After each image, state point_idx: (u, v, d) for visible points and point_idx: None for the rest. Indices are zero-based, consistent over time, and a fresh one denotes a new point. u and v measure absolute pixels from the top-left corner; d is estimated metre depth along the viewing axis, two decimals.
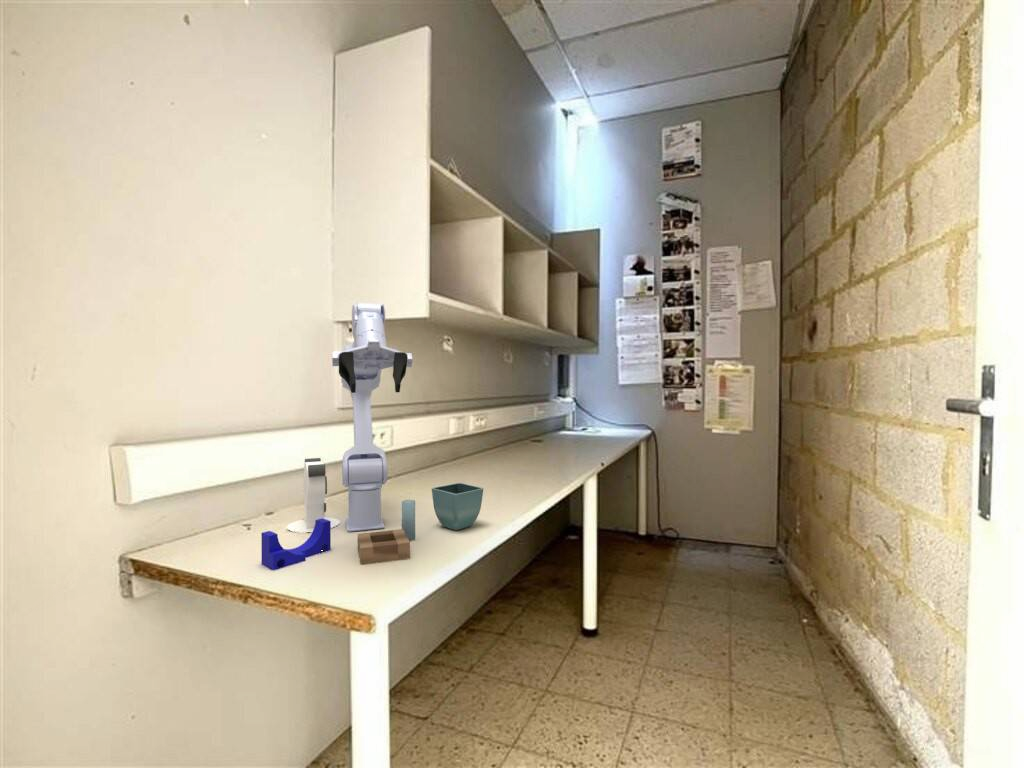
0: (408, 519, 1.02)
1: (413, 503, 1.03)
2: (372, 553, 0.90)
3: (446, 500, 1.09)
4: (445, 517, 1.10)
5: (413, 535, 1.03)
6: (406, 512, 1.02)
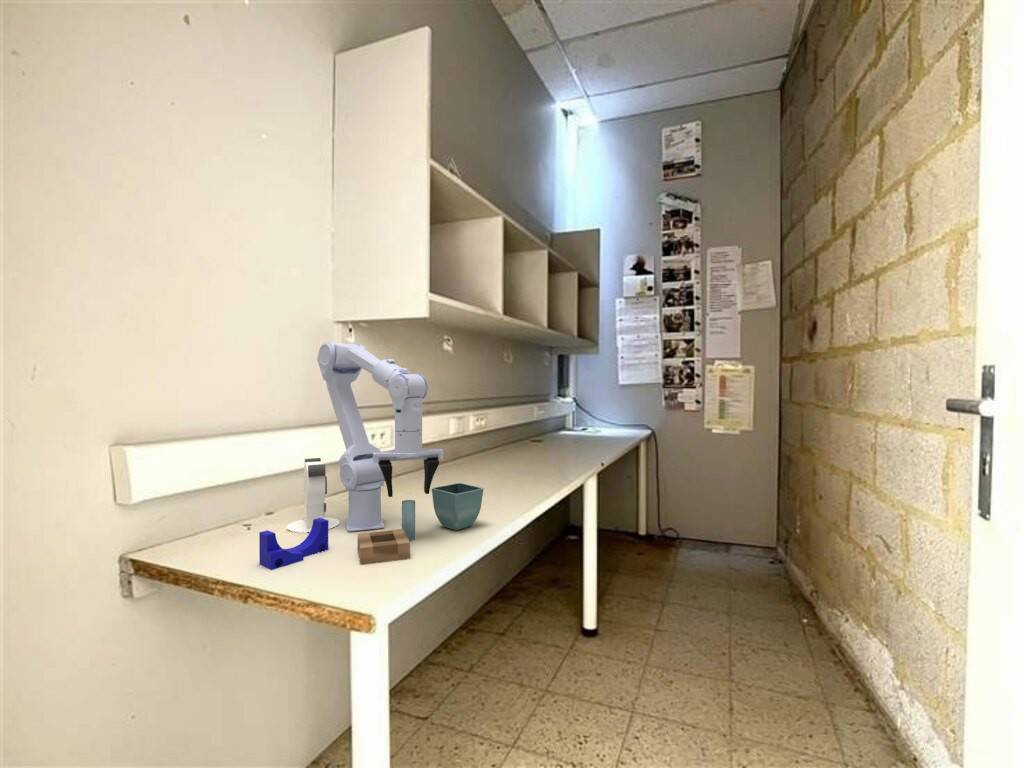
0: (408, 519, 1.02)
1: (413, 503, 1.03)
2: (372, 553, 0.90)
3: (446, 500, 1.09)
4: (445, 517, 1.10)
5: (413, 535, 1.03)
6: (406, 512, 1.02)
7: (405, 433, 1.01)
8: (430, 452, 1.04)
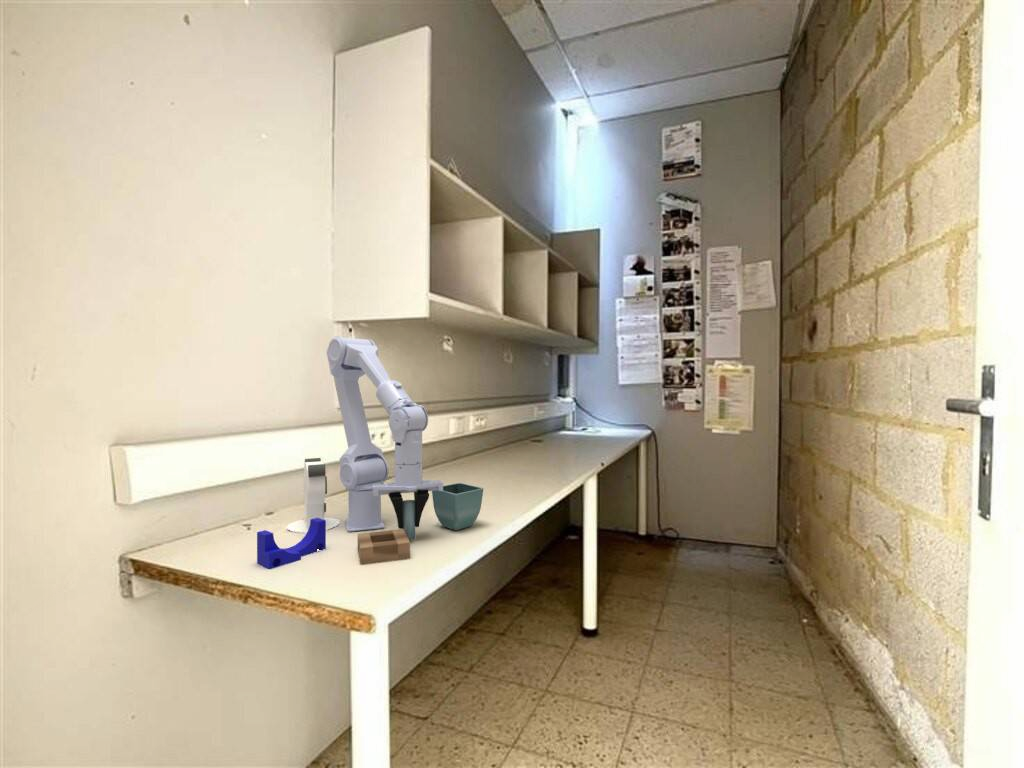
0: (408, 519, 1.02)
1: (413, 503, 1.03)
2: (372, 553, 0.90)
3: (446, 500, 1.09)
4: (445, 517, 1.10)
5: (413, 535, 1.03)
6: (406, 512, 1.02)
7: (405, 466, 1.01)
8: (430, 484, 1.04)
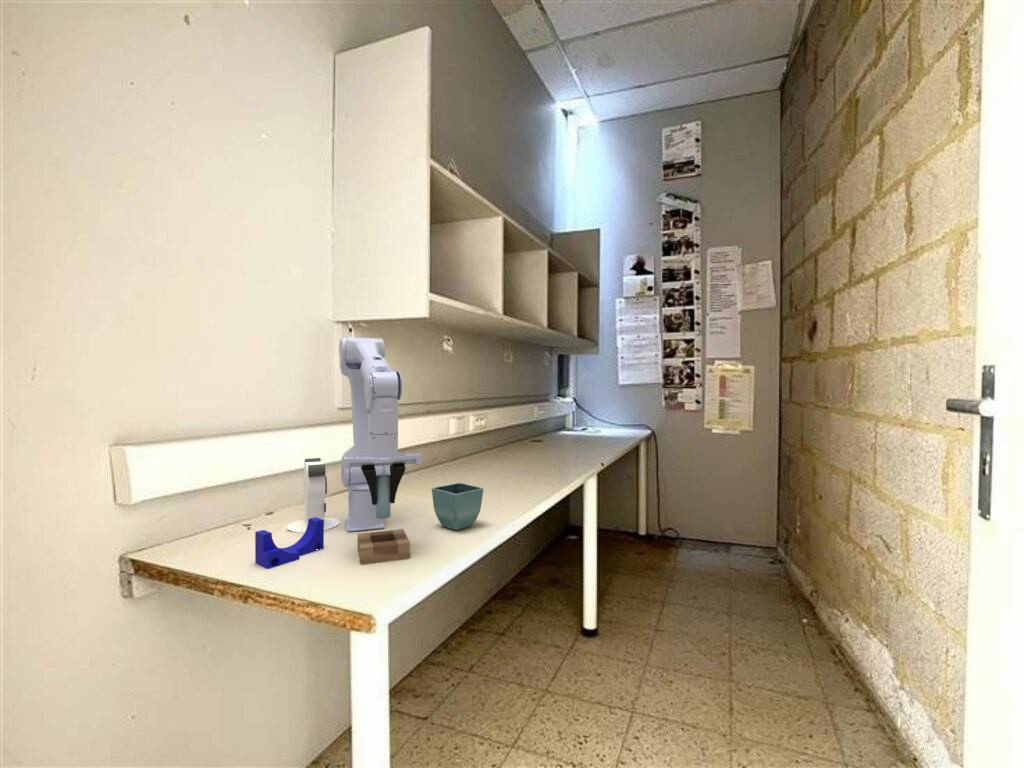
0: (382, 494, 0.94)
1: (388, 477, 0.94)
2: (372, 553, 0.90)
3: (446, 500, 1.09)
4: (445, 517, 1.10)
5: (387, 512, 0.94)
6: (380, 487, 0.94)
7: (378, 436, 0.92)
8: (406, 457, 0.95)
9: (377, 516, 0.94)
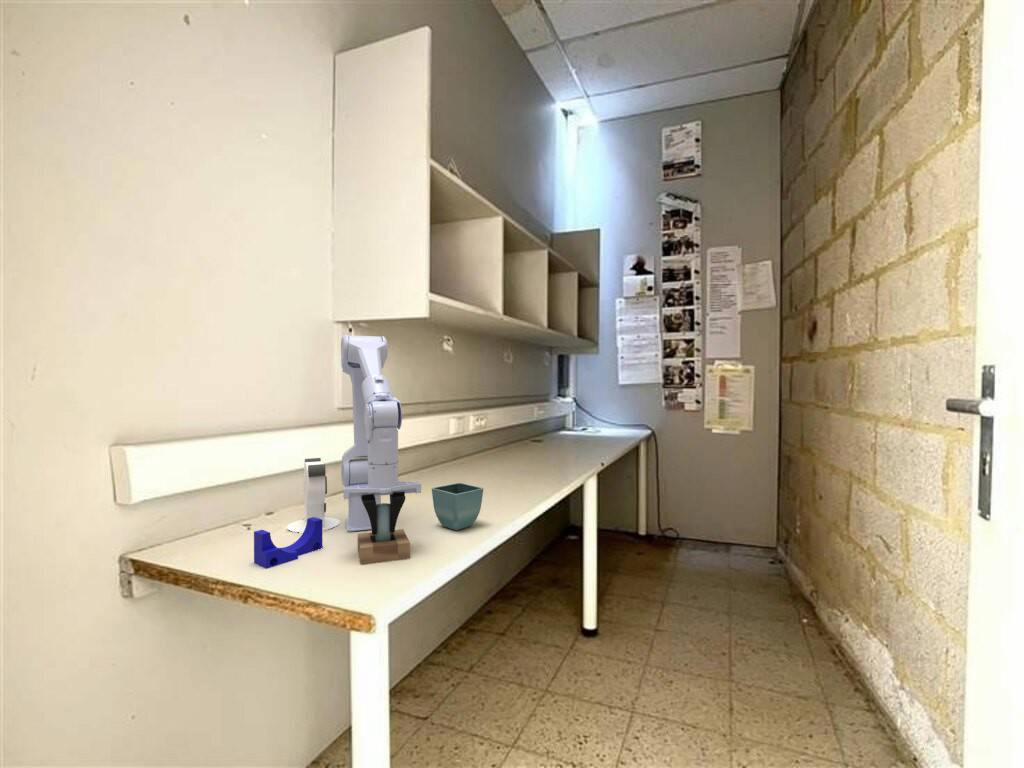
0: (382, 524, 0.94)
1: (388, 507, 0.94)
2: (372, 553, 0.90)
3: (446, 500, 1.09)
4: (445, 517, 1.10)
5: None
6: (380, 517, 0.94)
7: (378, 466, 0.92)
8: (406, 486, 0.95)
9: None
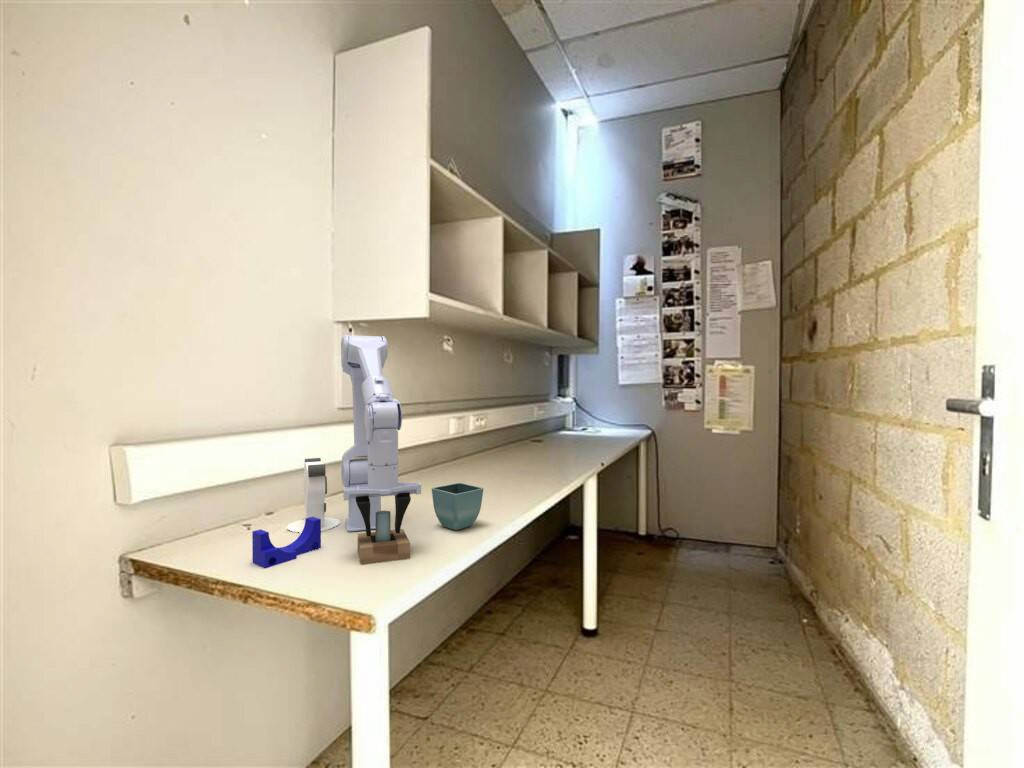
0: (382, 531, 0.94)
1: (387, 514, 0.94)
2: (372, 553, 0.90)
3: (446, 500, 1.09)
4: (445, 517, 1.10)
5: None
6: (380, 524, 0.94)
7: (378, 467, 0.92)
8: (406, 487, 0.95)
9: None
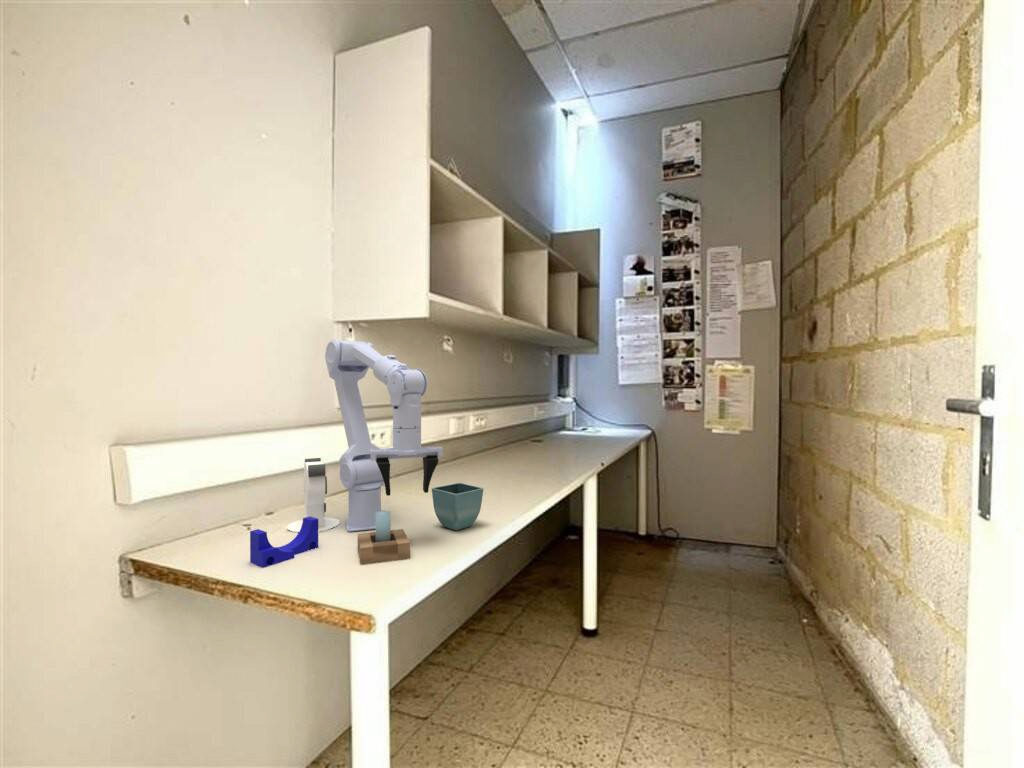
0: (382, 531, 0.94)
1: (387, 514, 0.94)
2: (372, 553, 0.90)
3: (446, 500, 1.09)
4: (445, 517, 1.10)
5: None
6: (380, 524, 0.94)
7: (403, 430, 0.98)
8: (429, 450, 1.01)
9: None
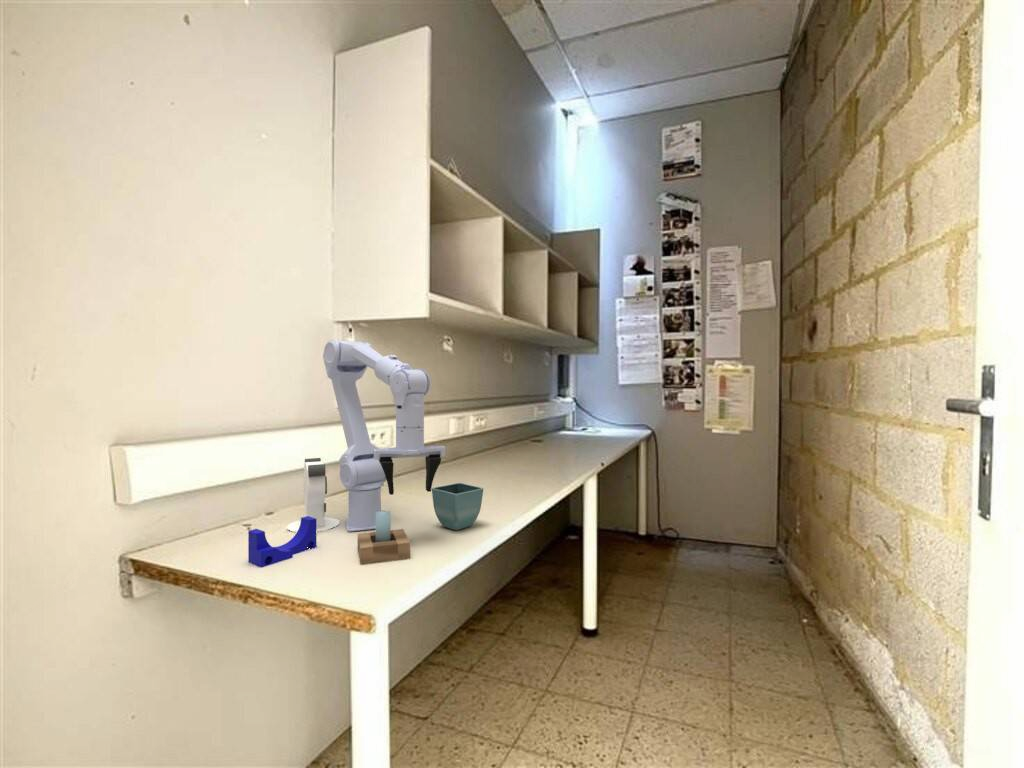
0: (382, 531, 0.94)
1: (388, 514, 0.94)
2: (372, 553, 0.90)
3: (446, 500, 1.09)
4: (445, 517, 1.10)
5: None
6: (380, 524, 0.94)
7: (406, 429, 0.99)
8: (432, 449, 1.02)
9: None
